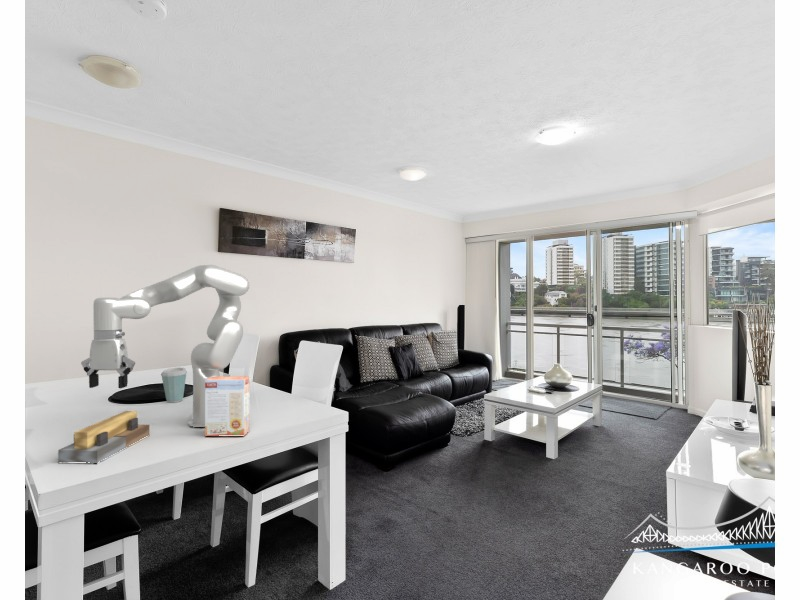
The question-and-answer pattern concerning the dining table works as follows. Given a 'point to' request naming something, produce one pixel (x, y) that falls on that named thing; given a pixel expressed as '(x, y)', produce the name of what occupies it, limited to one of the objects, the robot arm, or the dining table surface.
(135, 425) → the door and jamb
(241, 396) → the cracker box
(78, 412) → the dining table surface
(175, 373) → the disposable coffee cup
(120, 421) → the bar
